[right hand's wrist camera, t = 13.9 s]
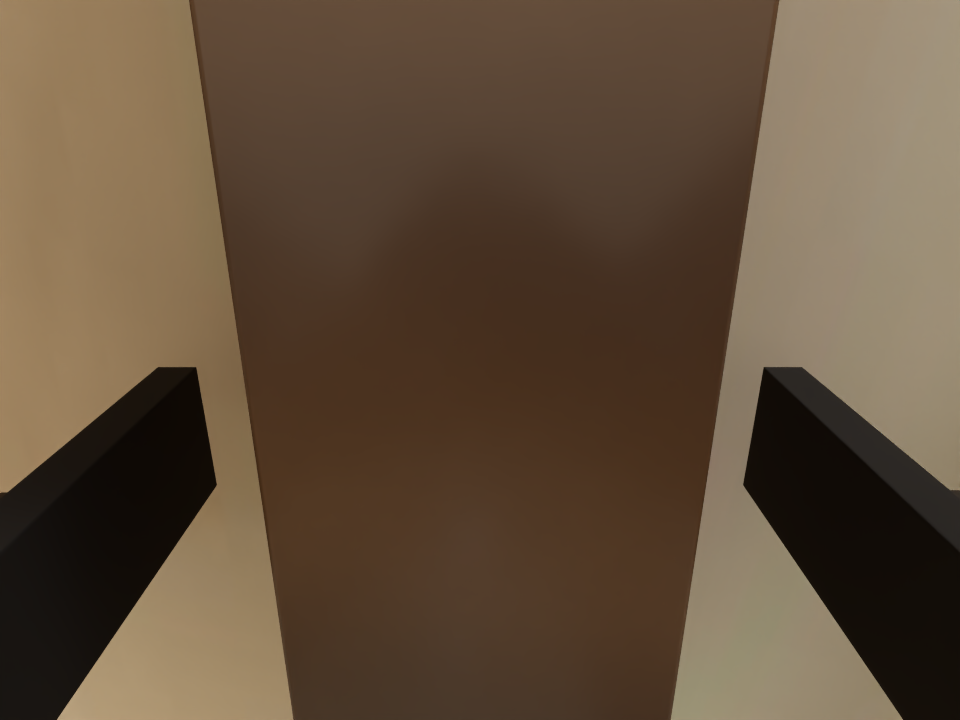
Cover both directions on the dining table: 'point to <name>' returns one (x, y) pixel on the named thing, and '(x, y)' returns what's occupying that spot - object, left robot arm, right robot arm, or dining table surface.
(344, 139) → the bar
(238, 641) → the dining table surface
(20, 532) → the right robot arm
